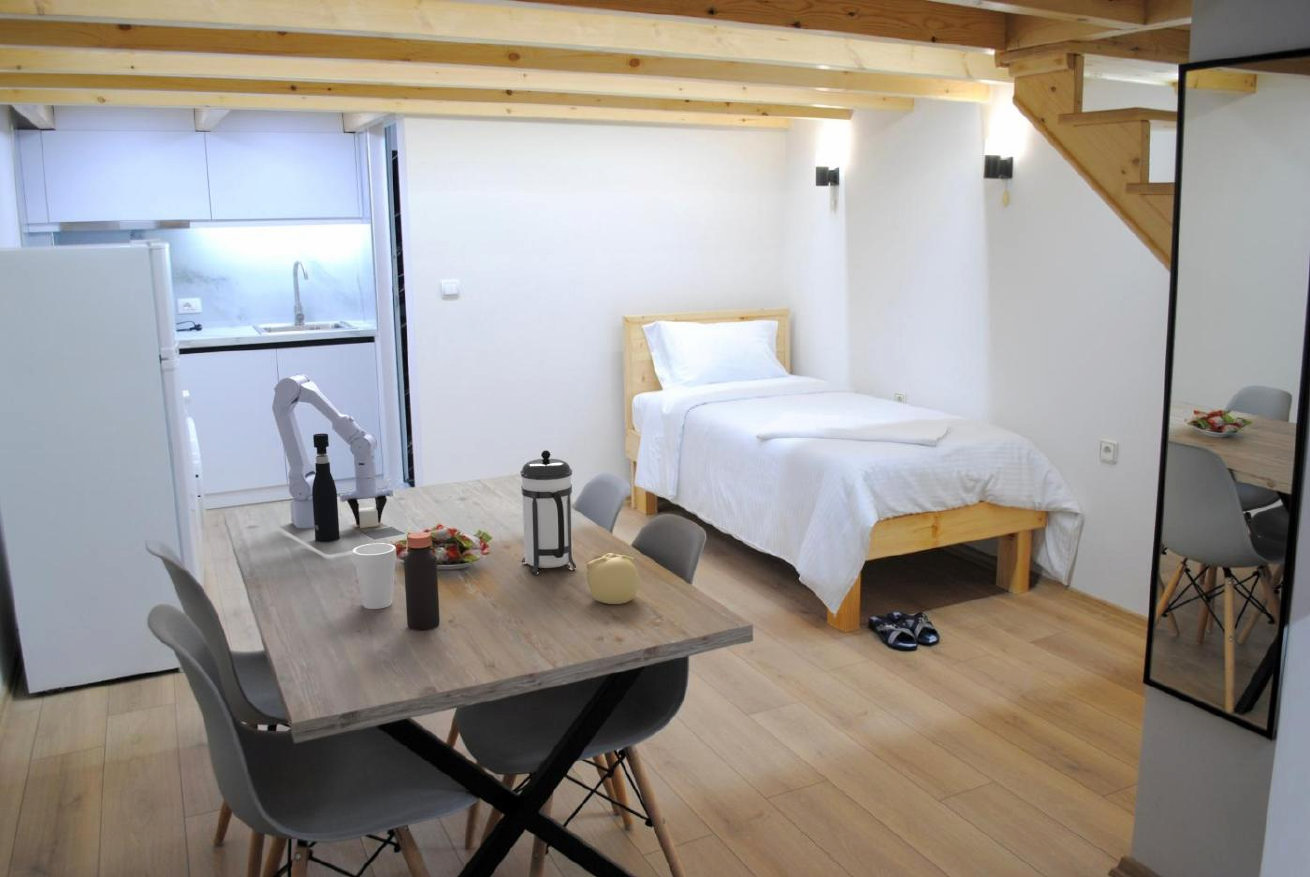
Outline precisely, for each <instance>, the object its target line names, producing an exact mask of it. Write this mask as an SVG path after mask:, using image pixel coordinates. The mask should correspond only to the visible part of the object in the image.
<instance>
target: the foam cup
mask: <svg viewBox="0 0 1310 877" xmlns="http://www.w3.org/2000/svg"><path fill="white" fill-rule="evenodd" d="M396 559H397V549H396V546H395V545H393V544H392V543H383V542H378V543H377V542H374V543H367V544H362V545H358V546H355V547H354V548H353V549H352V562H353V563H354V566H355V573H356V577H357V581H358V587H359V592H360V596H361V600H362V601H361V602H362V606H363V608H365V609H368V610H369V609H370V610H380V609H384V608H387V607H390V606H391V605H392V604H393V596H394V593H393V592H394V583H395V582H394V581H395V570H396Z"/></svg>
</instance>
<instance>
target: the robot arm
mask: <svg viewBox="0 0 1310 877" xmlns="http://www.w3.org/2000/svg"><path fill="white" fill-rule="evenodd" d="M273 389H274V396H273V401H272V405H271V406H272V407H271V408H272V409H271V410H272V413H273V416H274V419H275V422H276V426H277V429H278V432H279V436H280V438H281V442H282V445H283V449H284V452H285V454H286V455H285V456H286V458H287V462H288V465H289V467H290V468H289V472H288V476H287V478H288V481H289V482H288V483H289V484H288V492H289V494H290V496H291V497H292V500H291V502H290V504H289V507H290V520H291V524H293V526H295V528H298V529H313V528H314V513H313V499H312V487H313V482H314V478H315V474H316V467H315V466H314V465H313V464H311V463H310V461H309V458H308V454H307V450H306V448H305V447H306V446H305V445H304V441H303V436H302V434H301V430H300V427H299V423H298V420H297V418H296V415H295V411H294V410H295V408H296V406H297V405H298V403H307V404H311V405H312V406H313V407H314V408H315V409H316V410H318V412H320V413H321V415H323V416H324V417H325V418H326V419H328V420H329V421H330V422H331V428H332V430H333V431H334V433H336V434H337V435H338V436H339V437H340V439H342V440H343V441H344V442H346V444H347V445H348V446H349V451H350V452H351V454H352V455H353V458H354V460H353V461H354V462H353V463H354V479H355V480H354V481H355V491H349V492H346V493H345V492H344V493H339V500H340V502H341V503H343V502H347V504H348V505H349V507H350V509H351V511H352V514H353V517H354V520H355V524H357V525H360V520H359V508H360V504H359V501H358V500H366V499H375V507H376V509H377V511H378V523H382V522H381V521H382V515H383V511H384V508H385V506H386V504H387V503H388V502H387V500H388V498H387V497H394V489H393V488H377V472H376V470H377V469H376V455H375V454H376V453H375V450H376V449H377V447H378V446H377V445H378V443H377V438H376V437H375V436H374V434H373V433H370V432H367V431H366V429H362V427H360V425H358V424H357V422H356V421H355V417H353V416H352V415H351V416H349V414H342V413H341V412H340V411H339V410H338V409H337V408H336V407H335V406H334V404H333V403H332V402H330V400H329V399H328V398H327V397H326V396H325V394H323V393H322V391H321V390H320V389H319V388H318V386H317V385H316V383H315V382H313V380H311V379H310V378H309V377H308V376H307V375H306V374H303V373H296V374H294V375H292V376H289V377H283V378H281V380H279V381H278V383H277V384H276V385H275V387H274V388H273Z"/></svg>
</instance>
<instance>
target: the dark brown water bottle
mask: <svg viewBox="0 0 1310 877" xmlns="http://www.w3.org/2000/svg"><path fill="white" fill-rule="evenodd" d="M406 536H407V537H406V538H407V539H406V540H407V541H406V542H407V549H408V550H409V552H408V553H407V554H406V556H405V557H404V558H403V569H404V570H403V571H404V585H405V586H404V588H405V591H404V592H405V604H406V606H405V607H406V608H405V609H406V621H407V622H406V623H407V624H406V625H407V627H408V628H409V629H411V630H414V631H428V630H432V629H434V628H437V627H438V626H439V625H440V622H441V620H440V604H439V602H440V600H439V599H440V598H439V581H438V578H439V577H438V559H437V556H436V554H435V553H434V552H432V550H431V548H432V533H430V532H425V531H424V532H423V531H418V532H417V531H415V532H412V533H409V534H408V535H406Z"/></svg>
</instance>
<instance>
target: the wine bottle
mask: <svg viewBox="0 0 1310 877" xmlns="http://www.w3.org/2000/svg"><path fill="white" fill-rule="evenodd" d="M312 437H313V438H312V439H313V448H316V457H315V459H316V460H315V463H314V465H315V466H314V467H315V470H316V474H315V478H314V482H313V487H312V499H313V513H314V527H313V528H314V538H315V539H314V540H315V542H318V543H331V542H335V541H336V542H337V541H338V540H340V537H341V535H340V523H339V522H340V521H339V506H338V505H339V504H338V492H337V491H338V490H337V486H336V482H335V480H334V477H333V474H332V473H331V463H330V461H329V455H327V454H328V450H327V448H329V447H330V444H329V442H330V441H329V434H328V433H315V434H313V436H312Z"/></svg>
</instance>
